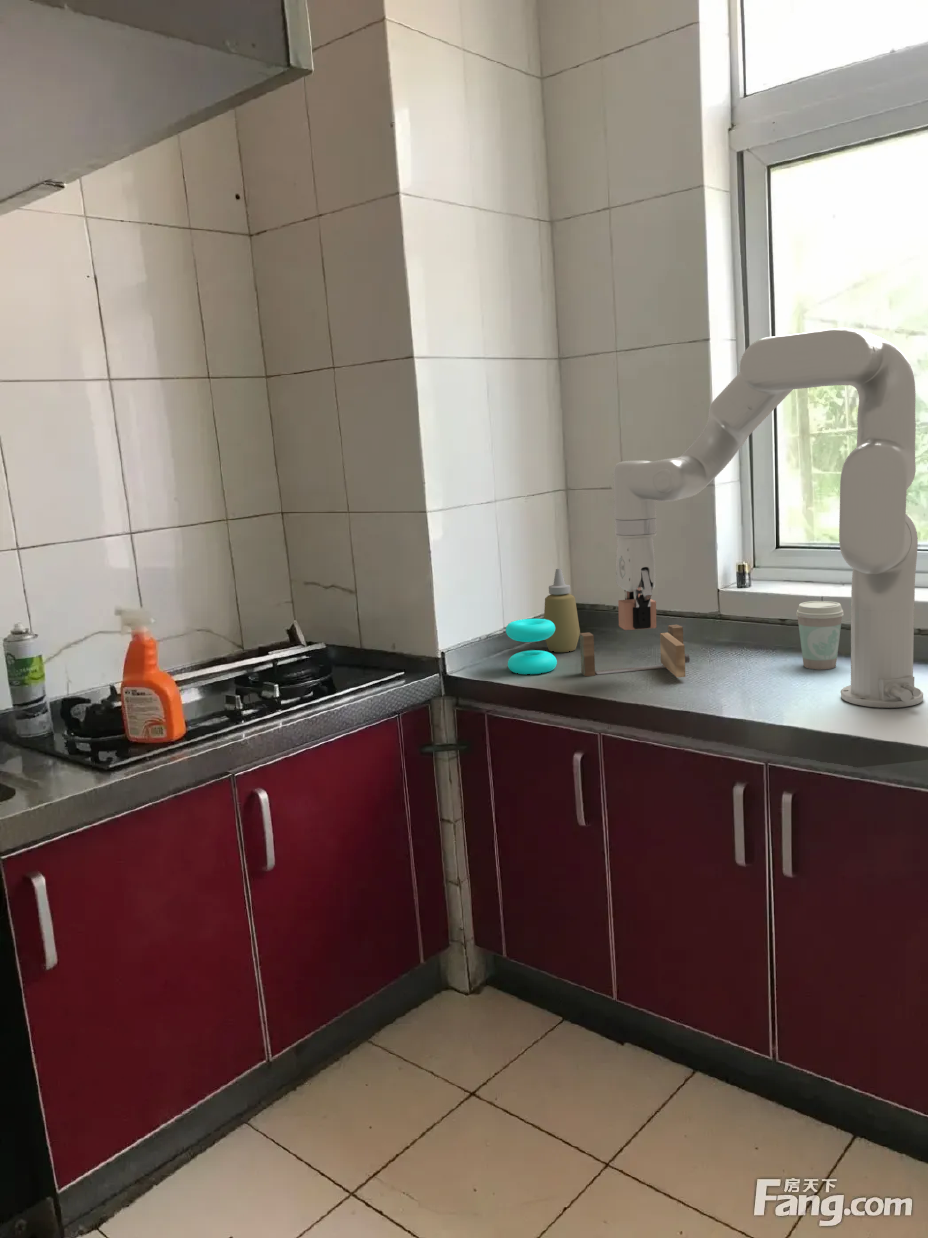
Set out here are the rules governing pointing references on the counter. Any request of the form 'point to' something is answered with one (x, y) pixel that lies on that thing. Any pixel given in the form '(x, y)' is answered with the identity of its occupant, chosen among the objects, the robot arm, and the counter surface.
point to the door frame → (589, 669)
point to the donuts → (533, 658)
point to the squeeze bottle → (562, 616)
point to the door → (673, 654)
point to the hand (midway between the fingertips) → (638, 625)
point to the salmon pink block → (627, 614)
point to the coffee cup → (819, 633)
